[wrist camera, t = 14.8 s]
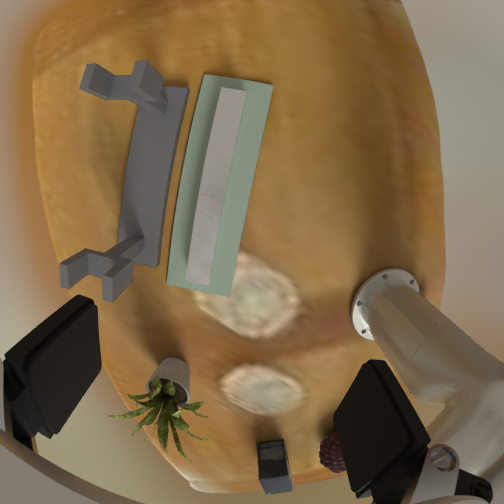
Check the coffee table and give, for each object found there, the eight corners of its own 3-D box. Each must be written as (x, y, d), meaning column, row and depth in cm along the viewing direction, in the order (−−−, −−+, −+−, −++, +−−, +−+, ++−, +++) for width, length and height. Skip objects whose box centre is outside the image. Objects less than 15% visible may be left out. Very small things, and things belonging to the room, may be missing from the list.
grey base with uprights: (189, 91, 30) (153, 42, 15) (159, 264, 37) (113, 319, 22) (148, 88, 30) (93, 46, 15) (121, 256, 36) (62, 303, 21)
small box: (289, 458, 52) (293, 491, 42) (262, 462, 52) (264, 495, 42) (284, 438, 49) (290, 476, 39) (255, 442, 49) (257, 480, 39)
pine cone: (346, 450, 52) (355, 480, 43) (308, 456, 52) (315, 487, 42) (365, 409, 47) (379, 443, 38) (321, 417, 47) (331, 454, 37)
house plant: (239, 382, 43) (238, 460, 28) (181, 407, 45) (166, 475, 30) (184, 325, 40) (157, 403, 24) (128, 358, 42) (93, 425, 26)
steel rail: (246, 97, 30) (246, 91, 27) (211, 276, 37) (208, 285, 34) (223, 94, 30) (221, 87, 27) (190, 272, 37) (185, 280, 34)
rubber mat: (273, 86, 30) (273, 85, 30) (229, 295, 38) (229, 296, 38) (205, 75, 30) (204, 74, 29) (167, 282, 38) (166, 284, 37)
